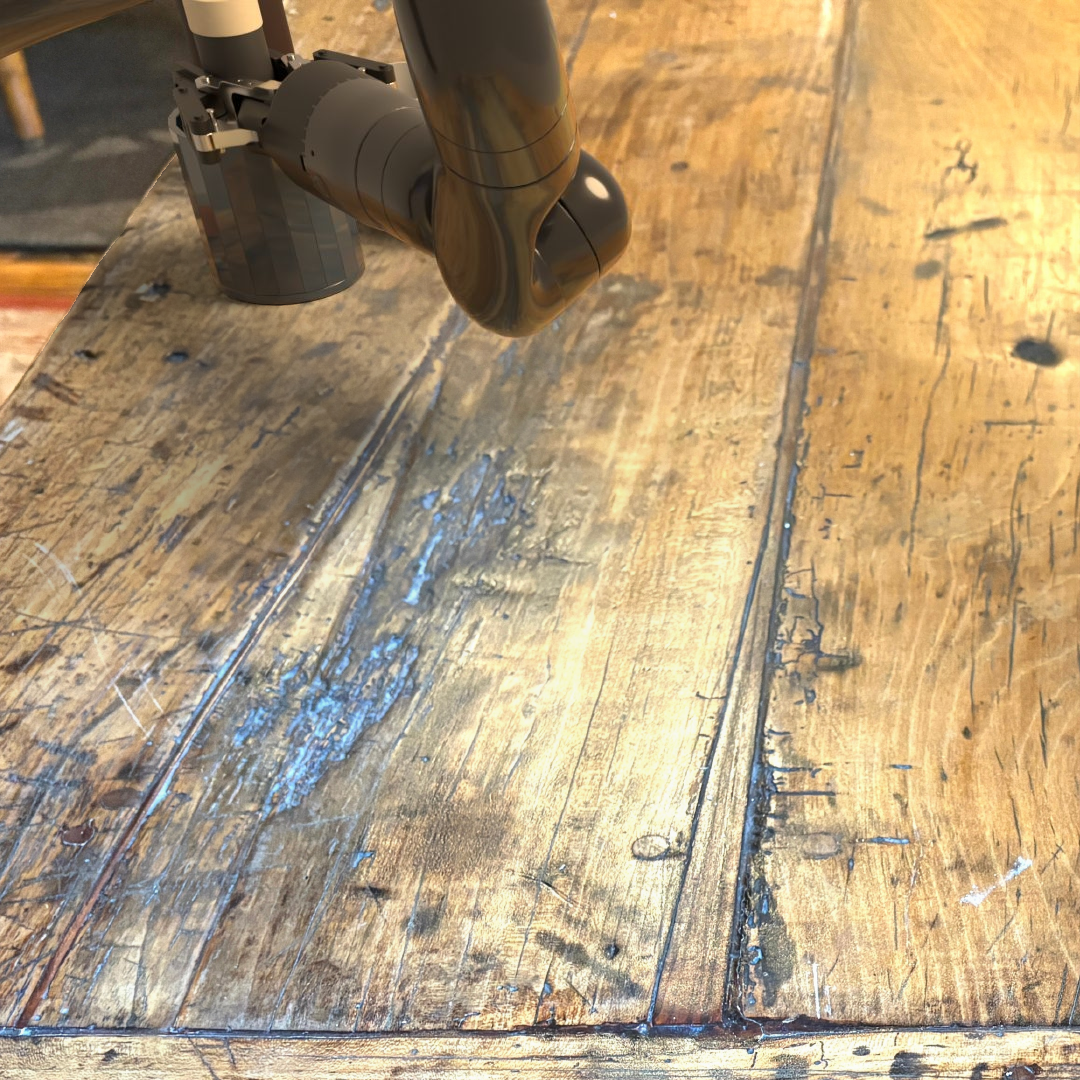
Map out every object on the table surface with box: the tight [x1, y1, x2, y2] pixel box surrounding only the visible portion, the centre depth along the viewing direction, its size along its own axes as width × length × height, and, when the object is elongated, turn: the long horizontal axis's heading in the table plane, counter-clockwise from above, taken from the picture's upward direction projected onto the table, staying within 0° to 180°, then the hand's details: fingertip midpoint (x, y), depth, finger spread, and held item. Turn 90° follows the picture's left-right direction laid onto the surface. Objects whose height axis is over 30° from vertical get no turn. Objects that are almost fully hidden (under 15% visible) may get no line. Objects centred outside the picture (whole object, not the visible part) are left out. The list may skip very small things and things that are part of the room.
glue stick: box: [182, 0, 276, 111], centre depth 111 cm, size 4×4×12 cm
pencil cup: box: [167, 106, 366, 305], centre depth 116 cm, size 10×10×10 cm
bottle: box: [174, 0, 296, 69], centre depth 123 cm, size 7×7×20 cm
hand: (218, 70), depth 112 cm, fingers open, 4 cm apart
